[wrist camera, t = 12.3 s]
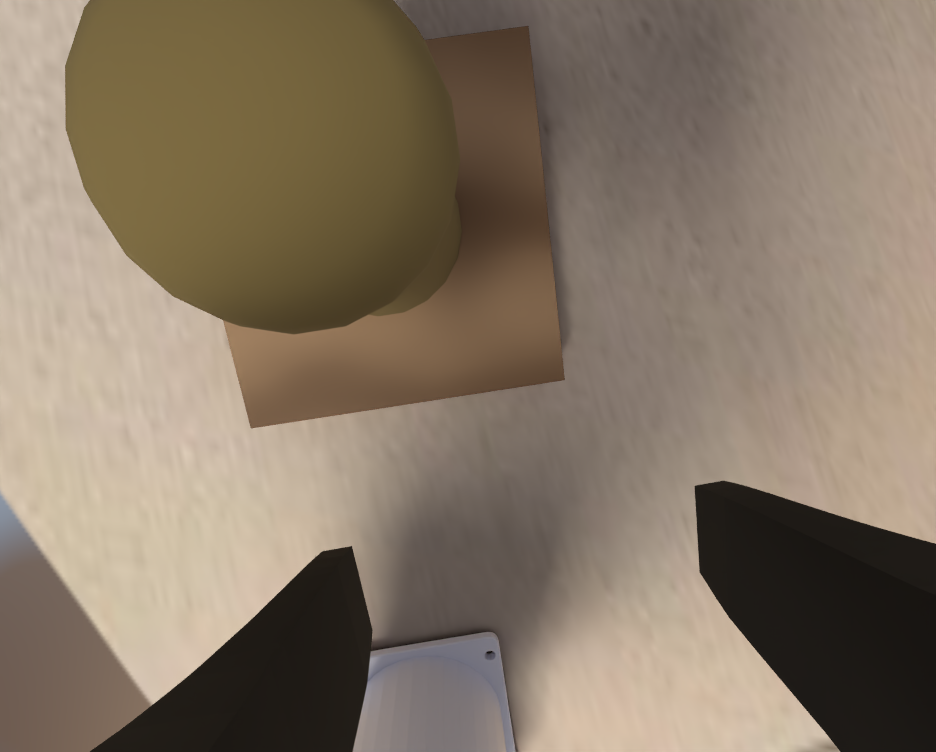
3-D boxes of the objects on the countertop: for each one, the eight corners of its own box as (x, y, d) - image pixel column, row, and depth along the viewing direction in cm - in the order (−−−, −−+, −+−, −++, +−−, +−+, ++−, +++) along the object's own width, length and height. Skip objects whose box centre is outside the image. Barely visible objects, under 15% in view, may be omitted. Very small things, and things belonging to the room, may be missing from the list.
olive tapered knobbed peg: (312, 108, 15) (-19, -332, 4) (484, 172, 16) (576, -67, 5) (269, 285, 16) (-83, 293, 5) (432, 338, 17) (413, 438, 6)
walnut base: (552, 370, 19) (564, 379, 17) (270, 413, 19) (250, 428, 17) (518, 55, 17) (528, 25, 15) (193, 100, 17) (160, 75, 15)
